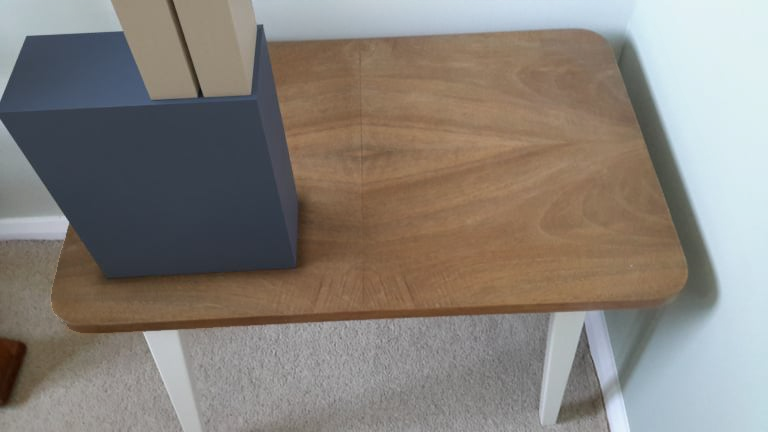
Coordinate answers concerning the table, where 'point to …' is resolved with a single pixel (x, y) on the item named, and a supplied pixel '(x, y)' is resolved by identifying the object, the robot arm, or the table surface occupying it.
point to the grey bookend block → (161, 139)
